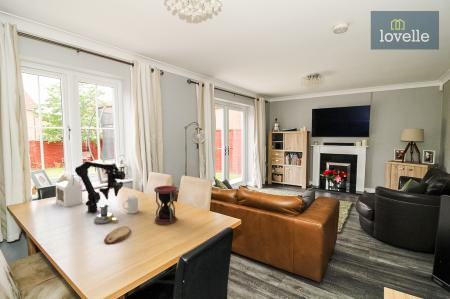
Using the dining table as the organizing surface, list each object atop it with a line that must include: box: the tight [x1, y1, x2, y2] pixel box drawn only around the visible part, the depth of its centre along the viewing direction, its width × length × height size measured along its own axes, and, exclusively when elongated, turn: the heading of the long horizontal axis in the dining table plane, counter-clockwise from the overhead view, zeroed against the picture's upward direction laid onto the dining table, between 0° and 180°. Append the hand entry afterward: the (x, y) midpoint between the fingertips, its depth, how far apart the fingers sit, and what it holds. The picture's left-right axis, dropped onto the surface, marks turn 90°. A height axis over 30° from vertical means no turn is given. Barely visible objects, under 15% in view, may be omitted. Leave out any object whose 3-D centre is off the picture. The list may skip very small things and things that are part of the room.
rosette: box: [93, 212, 119, 225], centre depth 160 cm, size 18×13×4 cm
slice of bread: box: [103, 225, 132, 245], centre depth 137 cm, size 18×18×4 cm
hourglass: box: [154, 185, 178, 226], centre depth 161 cm, size 16×16×25 cm
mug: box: [122, 195, 139, 214], centre depth 179 cm, size 12×8×12 cm
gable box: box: [55, 171, 83, 208], centre depth 199 cm, size 22×13×28 cm, turn 55°
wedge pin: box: [99, 204, 109, 216], centre depth 160 cm, size 4×4×9 cm
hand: (111, 197), depth 177 cm, fingers open, 9 cm apart
